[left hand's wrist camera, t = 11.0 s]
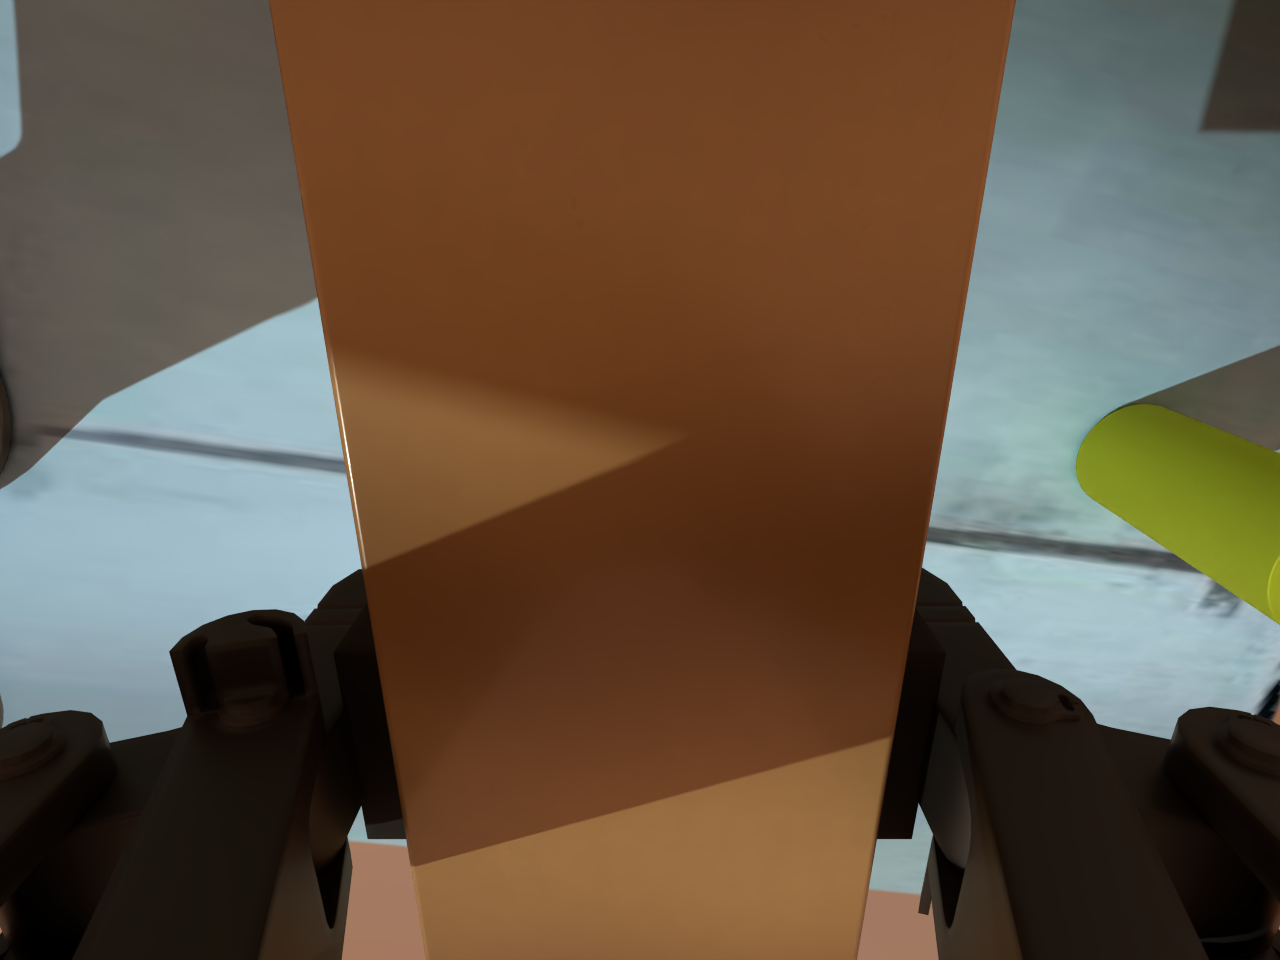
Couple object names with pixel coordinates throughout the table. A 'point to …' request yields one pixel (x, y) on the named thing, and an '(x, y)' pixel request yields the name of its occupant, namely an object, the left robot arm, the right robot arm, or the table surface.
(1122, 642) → the table surface
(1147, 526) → the soap dispenser
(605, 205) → the bar
